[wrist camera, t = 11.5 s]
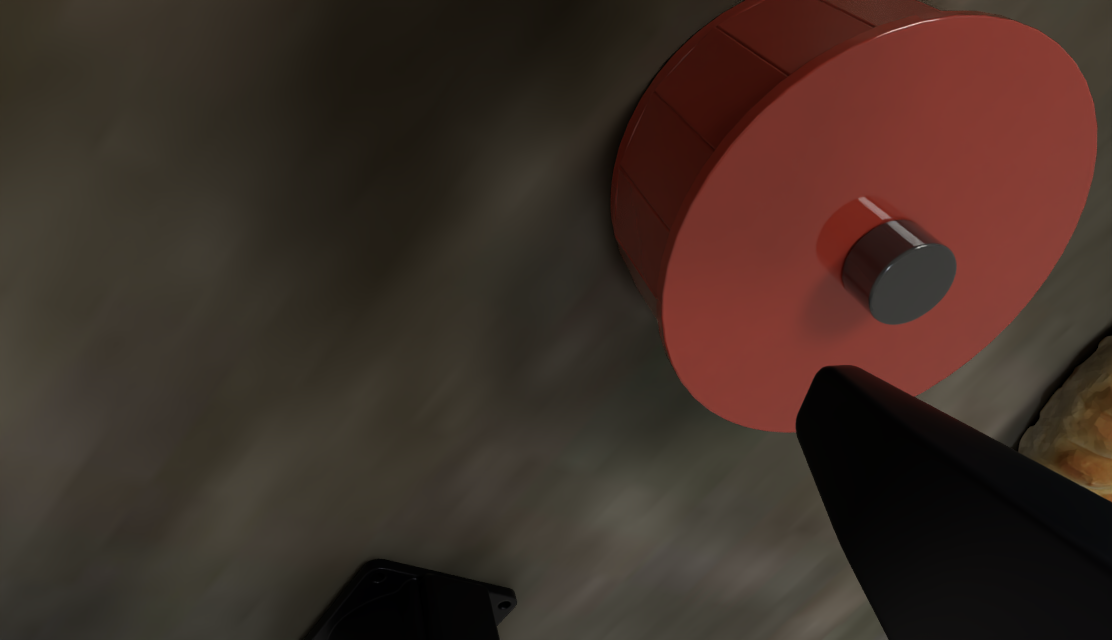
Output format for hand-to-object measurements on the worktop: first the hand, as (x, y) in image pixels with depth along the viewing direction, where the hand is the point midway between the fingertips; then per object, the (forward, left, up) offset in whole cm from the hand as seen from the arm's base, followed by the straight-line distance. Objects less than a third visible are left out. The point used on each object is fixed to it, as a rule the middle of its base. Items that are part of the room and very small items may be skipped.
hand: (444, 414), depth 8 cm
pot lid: (+3, -12, -8) cm, 14 cm away
